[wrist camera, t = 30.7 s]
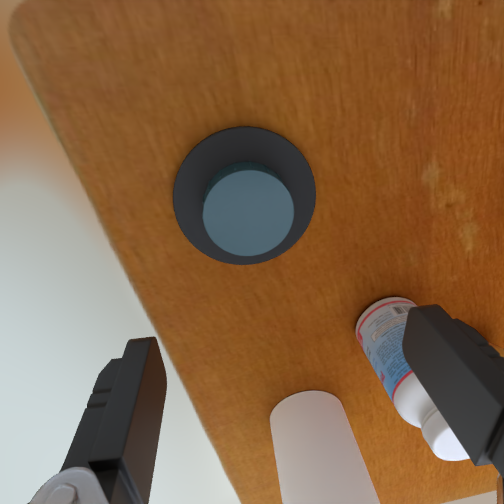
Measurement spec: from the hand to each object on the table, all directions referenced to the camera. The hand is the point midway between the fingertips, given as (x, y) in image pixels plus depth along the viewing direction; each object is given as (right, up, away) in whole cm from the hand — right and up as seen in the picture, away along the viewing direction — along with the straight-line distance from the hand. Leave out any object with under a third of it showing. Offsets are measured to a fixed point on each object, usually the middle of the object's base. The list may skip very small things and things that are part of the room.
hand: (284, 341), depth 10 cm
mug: (+5, -17, +26) cm, 31 cm away
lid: (-1, +5, +11) cm, 12 cm away
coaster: (-2, +6, +13) cm, 15 cm away
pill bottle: (+11, -4, +20) cm, 23 cm away
